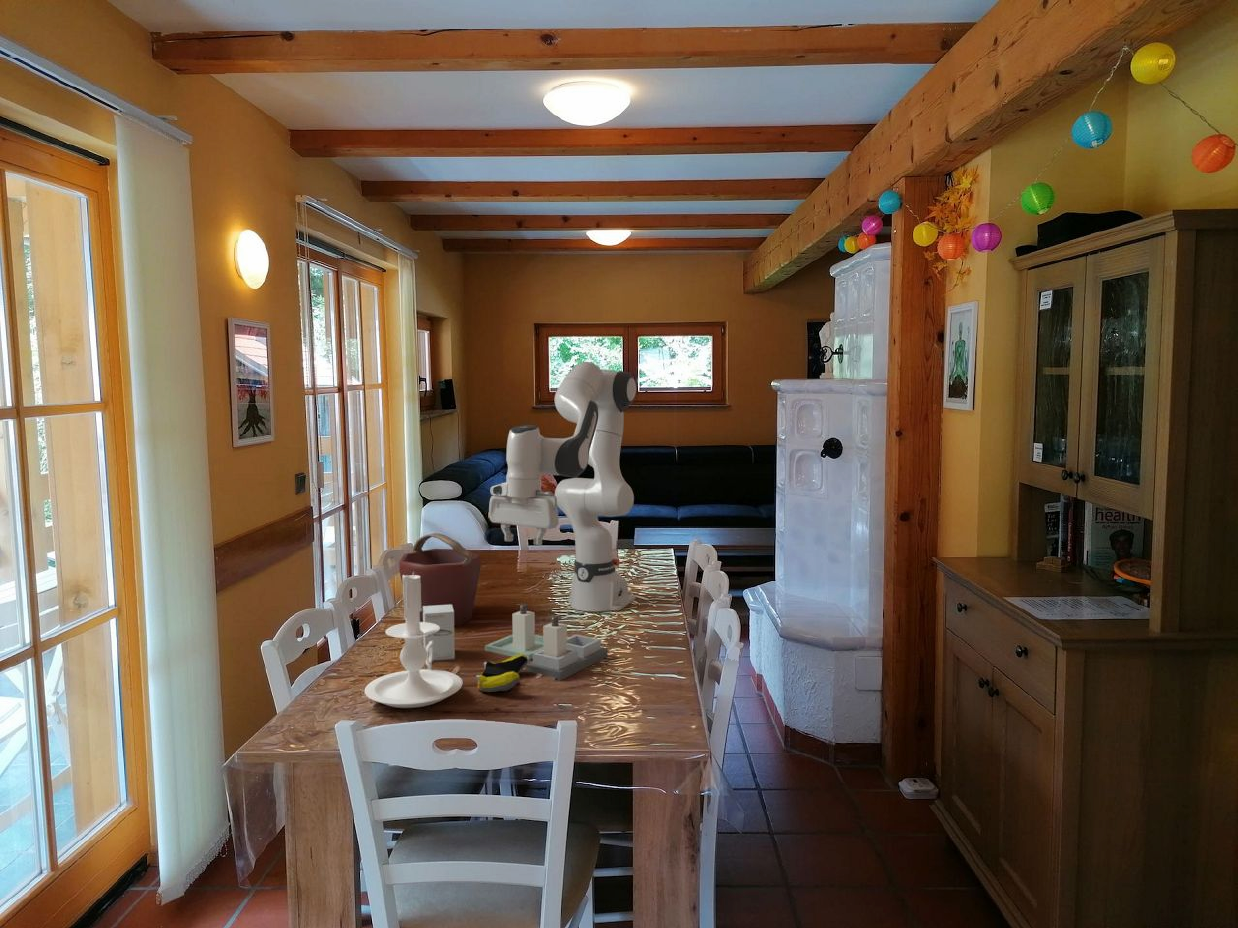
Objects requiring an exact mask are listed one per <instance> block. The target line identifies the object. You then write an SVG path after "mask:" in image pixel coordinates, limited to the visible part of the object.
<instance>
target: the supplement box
mask: <svg viewBox="0 0 1238 928" xmlns="http://www.w3.org/2000/svg"><path fill="white" fill-rule="evenodd" d="M423 622H428V623H433V624H436V625H438V626H439V627H440V630H439V631H438V632H436V633H434V634H431V635H428V636H424V637H422V641H423V642H422V645H423V646H424V647H425V649H426V646H427V645H428V644H429V642H430V641H433V645H432V646H433V659H432V663H435V661H445V660H455V658H456V653H455V652H456V650H455V649H456V648H455V647H456V646H455V627H454V610H453V606H452V604H451V605H435V606H423ZM428 657H429V656H428Z"/></svg>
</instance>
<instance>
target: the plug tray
mask: <svg viewBox="0 0 1238 928" xmlns="http://www.w3.org/2000/svg"><path fill="white" fill-rule="evenodd" d="M542 649H543V635H538V634H535V647H533V648H531V649H528V650H526V651H523V650H518V649H514V648H513V633H512V634H510V635H508V636H506V637H502V638H501V639H498V640H495V641H493V642H490V643H488V644H486V645H484V651H485V652H491V653H495V654H499V655H503V656H509V657H513V656H515V655H519V654H524V655H525V656H527V659H528V661H530V660H533V653H536V652H538V651H540V650H542Z"/></svg>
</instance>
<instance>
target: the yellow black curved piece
mask: <svg viewBox="0 0 1238 928" xmlns="http://www.w3.org/2000/svg"><path fill="white" fill-rule="evenodd" d="M528 663H529V660H528V659H527V656H525V655H524V654H519V655H515V656H513V657H512V656H510V657H509V658H506V659H505V660H503V661H500V662H497V663H496V662H493V661H484V662H483V667H484V671H482V673H481V674H476V675H475V676H476V679H477V689H478V690H480V691H481V692H486V693H492V692H493V693H496V692H508V691H509V690H511V689H512V688H514V687H515V686H516V685H517V683H518V682H519V681H520V679H521V678H520V672H521V671H523V670H524V668H526V664H528Z"/></svg>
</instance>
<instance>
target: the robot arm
mask: <svg viewBox="0 0 1238 928" xmlns="http://www.w3.org/2000/svg"><path fill="white" fill-rule="evenodd" d="M636 394H637V382H636V379H635V377H634V376H633V374H631V373H629V372H627V371H622V370H619V371H617V370H610V369H601V368H600V367H599V366H598V365H597V364H595V363H593V362H589V361H581V362H579V363H578V364H576V365H575V366H574V367H573V368H572V369H570V371H569V372H568V373H567V375H565V377H564V379H562V381H561V383H560V385H559V387H558V388H557V389H556V392H555V395H554V405H555V409H556V410H557V412H558V413H559V415H560V416H561V417H563V418H564V419H565V420H566V421H568V422H570V423H574V424H576V427H575V430H574V432H573V435H572V436H569V437H564V438H557V437H555V438H552V437H551V438H550V437H545V436H543V434H542V435H541V434H540V429H539V428H540V427H538V426H536V425H533V424H524V425H517V426H514V427H512V428H511V429H509V433H508V436H507V441H506V442H507V443H506V458H505V459H506V464H507V473H506V475H505V478H506V481H505V482H502V483H499V484H496V485H493V486H491V487H490V490H489V491H490V495H491V496H490V498H489V504H488V505H489V507H488V516H489V520H490V521H491V523H494V524H495V523H496V524H500V528H501V531H502V533H503V534H504V542H513V541H514V534H513V533H511V530H510V528H511V525H513V526H519V527H530V528H535V529H536V532H537V536H536V537H533V545H534V546H542V545H543V538H544V536H545V534H546V533H547V530H549V529H550V530H551V529H555V528H557V527H558V525H559V523H560V522H559V511H558V508H559V510H560V511H562V513H564V515H565V516H566V518H567V519H568V521H569V523H570V525H571V527H572V530H573V534H574V542H575V544H574V546H575V560H574V563H573V569H574V575H573V576H572V578H571V579H572V580H571V590H570V591H571V592H570V597H569V598H568V600H567V602H568V603H569V604H570V607H571V608H572V609H574V610H578V611H583V612H606V611H607V612H608V611H620V610H622V609H624V608H625V607H627V606H628V605H629V604H630V603H632V602H634V601H635V600H636V599H637V597H636V595H634V594H632V593H629V586H628V584H629V583H628V581H627V579H625V578H624V577H623V576H622V575H621V574H619V573H618V572H617V571H616V569H617V568H616V566H619V565H620V564H621V560H620V559H619V558H613V537H612V534H611V532H610V531H609V530H608V529H607V528H606V527H604V526H603V525H602V524H601V522H600V521H599V518H598V516H599V517H607V518H613V517H623V516H626V515H627V514H628V513H629V512H630V511H631V510H632V508H633V505H634V501H635V495H634V492H633V489H632V487H631V486H630V485H629V484H628V483H627V482H626V480H625V478H624V477H623V476H622V472H621V469H620V458H621V457H620V454H621V446H622V442H623V441H622V440H623V432H624V417H625V416H624V412H625V411H626V410H627V408H628V407H630V406H631V405H632V403H633V402H634V401H635V398H636V396H637V395H636ZM588 465H589V466H590V467H592V468H593V471H594V477H593V478H586V477H585V478H584V477H578V476H580V475H581V474H582V473H583V472H584V471H585V470H586V469H587V467H588ZM542 475H549V476H562V477H568V478H565V479H562V480H561V481H560V482H559V483H558V484H557V486H556V488H555V491H554V493H553V492H552V491H550V490H549V491H545V490H542Z"/></svg>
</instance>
